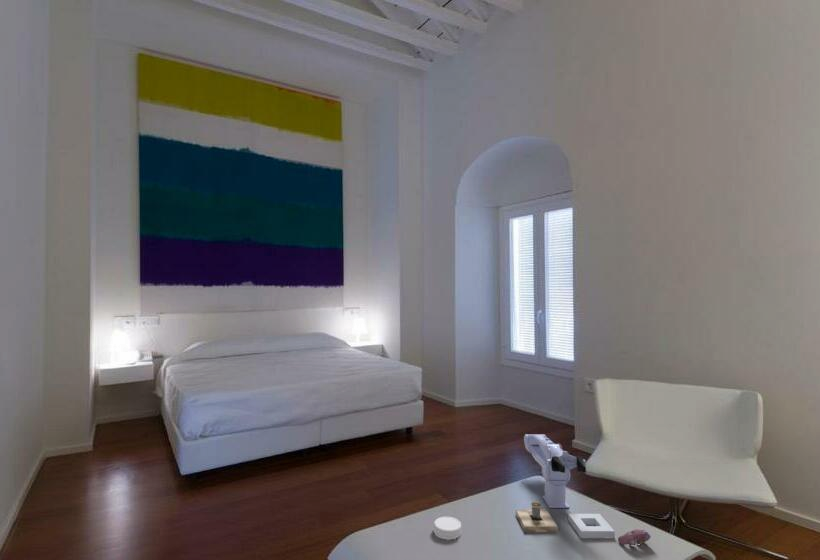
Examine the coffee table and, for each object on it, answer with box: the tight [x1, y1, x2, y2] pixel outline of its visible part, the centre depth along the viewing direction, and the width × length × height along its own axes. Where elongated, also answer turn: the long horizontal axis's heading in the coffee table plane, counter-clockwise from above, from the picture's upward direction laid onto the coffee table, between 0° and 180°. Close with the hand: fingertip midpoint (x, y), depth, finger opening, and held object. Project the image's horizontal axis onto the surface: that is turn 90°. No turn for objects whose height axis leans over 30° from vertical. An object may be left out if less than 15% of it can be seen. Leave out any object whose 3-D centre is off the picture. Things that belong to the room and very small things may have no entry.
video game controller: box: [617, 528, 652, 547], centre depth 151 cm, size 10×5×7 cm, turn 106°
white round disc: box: [433, 516, 462, 541], centre depth 158 cm, size 10×10×4 cm
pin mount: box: [515, 509, 559, 533], centre depth 164 cm, size 12×12×2 cm
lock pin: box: [530, 501, 542, 521], centre depth 165 cm, size 4×4×7 cm
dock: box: [567, 513, 616, 539], centre depth 161 cm, size 12×12×2 cm
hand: (574, 469), depth 161 cm, fingers open, 7 cm apart
